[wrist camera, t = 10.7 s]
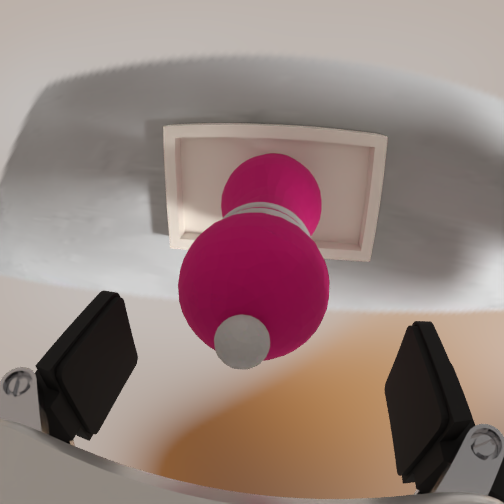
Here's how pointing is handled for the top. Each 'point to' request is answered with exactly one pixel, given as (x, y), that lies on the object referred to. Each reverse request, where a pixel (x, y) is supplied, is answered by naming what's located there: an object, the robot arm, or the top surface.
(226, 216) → the pepper mill
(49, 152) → the top surface
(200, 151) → the tray
